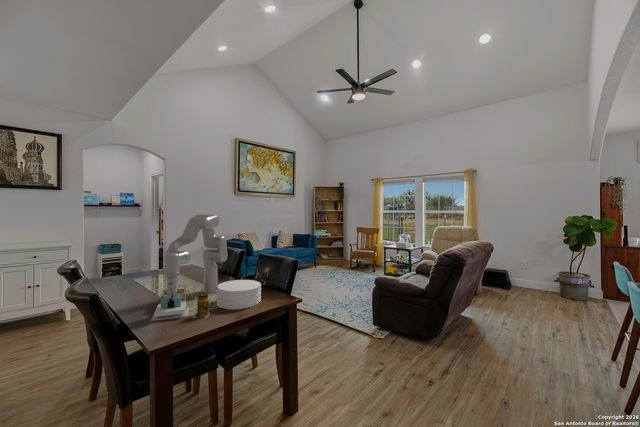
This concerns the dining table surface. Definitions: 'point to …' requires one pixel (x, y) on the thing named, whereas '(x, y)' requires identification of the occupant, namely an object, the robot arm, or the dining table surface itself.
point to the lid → (164, 310)
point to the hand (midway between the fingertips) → (171, 306)
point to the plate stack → (238, 294)
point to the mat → (171, 316)
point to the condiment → (202, 306)
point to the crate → (180, 293)
